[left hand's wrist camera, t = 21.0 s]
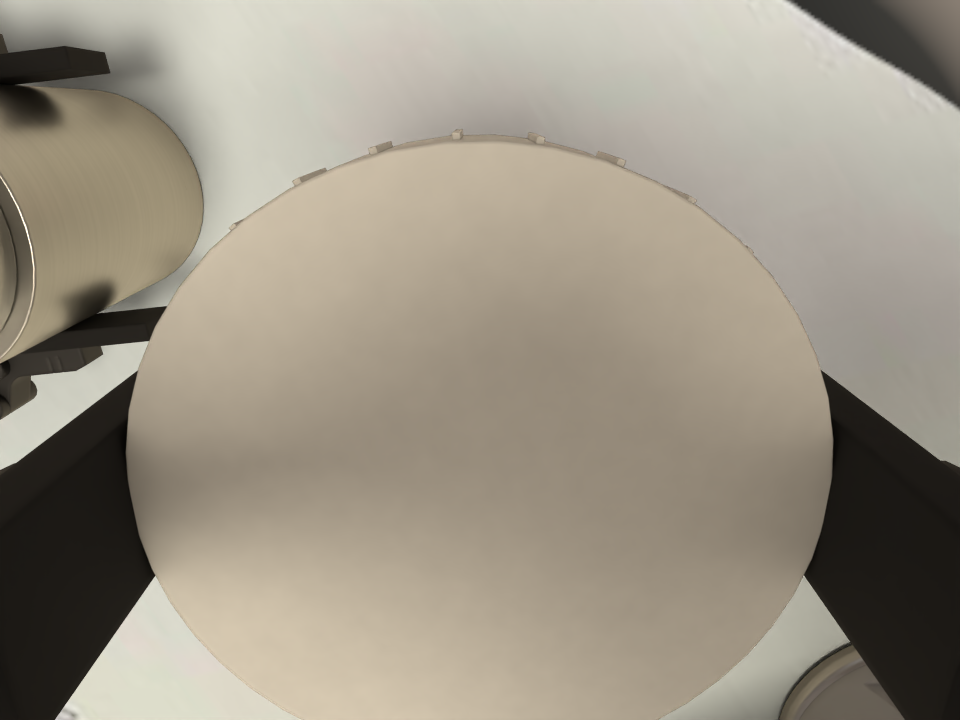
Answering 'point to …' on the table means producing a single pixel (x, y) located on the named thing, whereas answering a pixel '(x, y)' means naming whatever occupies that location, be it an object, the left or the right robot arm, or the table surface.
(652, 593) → the lid
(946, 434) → the table surface
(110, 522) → the left robot arm
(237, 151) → the table surface
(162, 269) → the jar
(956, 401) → the table surface
